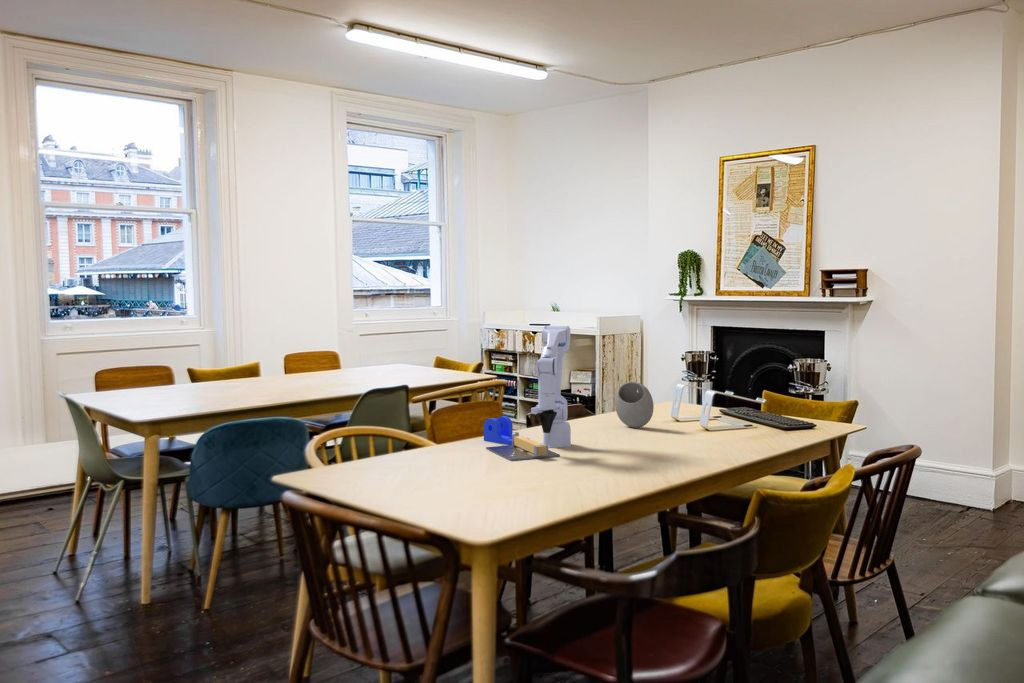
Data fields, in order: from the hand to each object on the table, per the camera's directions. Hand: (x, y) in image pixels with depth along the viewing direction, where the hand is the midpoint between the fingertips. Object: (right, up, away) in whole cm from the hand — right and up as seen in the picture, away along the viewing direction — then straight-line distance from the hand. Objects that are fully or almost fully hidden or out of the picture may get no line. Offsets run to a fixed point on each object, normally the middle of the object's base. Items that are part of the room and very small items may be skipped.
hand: (546, 432), depth 282 cm
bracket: (-13, -7, +22) cm, 27 cm away
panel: (-8, -8, +2) cm, 12 cm away
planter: (+38, -4, +54) cm, 66 cm away
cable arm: (-6, -6, +1) cm, 8 cm away
